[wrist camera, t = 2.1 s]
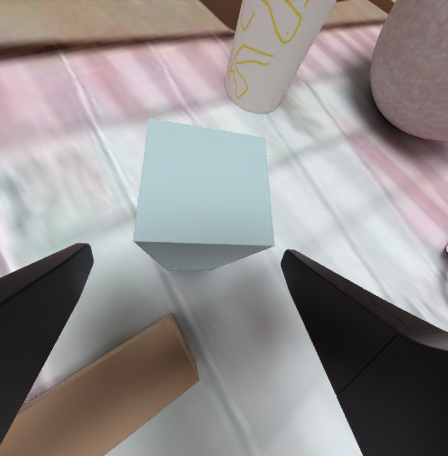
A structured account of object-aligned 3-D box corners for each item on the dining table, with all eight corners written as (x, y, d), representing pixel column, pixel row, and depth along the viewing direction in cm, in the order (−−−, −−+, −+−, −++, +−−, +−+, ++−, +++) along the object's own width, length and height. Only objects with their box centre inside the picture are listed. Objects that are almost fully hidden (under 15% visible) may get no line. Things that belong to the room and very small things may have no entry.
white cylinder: (213, 74, 25) (240, -95, 14) (258, 63, 28) (311, -87, 16) (246, 121, 24) (305, -20, 13) (290, 104, 27) (369, -24, 16)
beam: (195, 362, 16) (199, 380, 13) (-112, 593, 10) (-230, 721, 7) (171, 312, 16) (169, 319, 13) (-133, 503, 10) (-250, 586, 7)
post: (210, 270, 18) (274, 245, 6) (166, 270, 17) (133, 241, 5) (210, 230, 19) (265, 138, 7) (169, 228, 18) (148, 118, 6)
